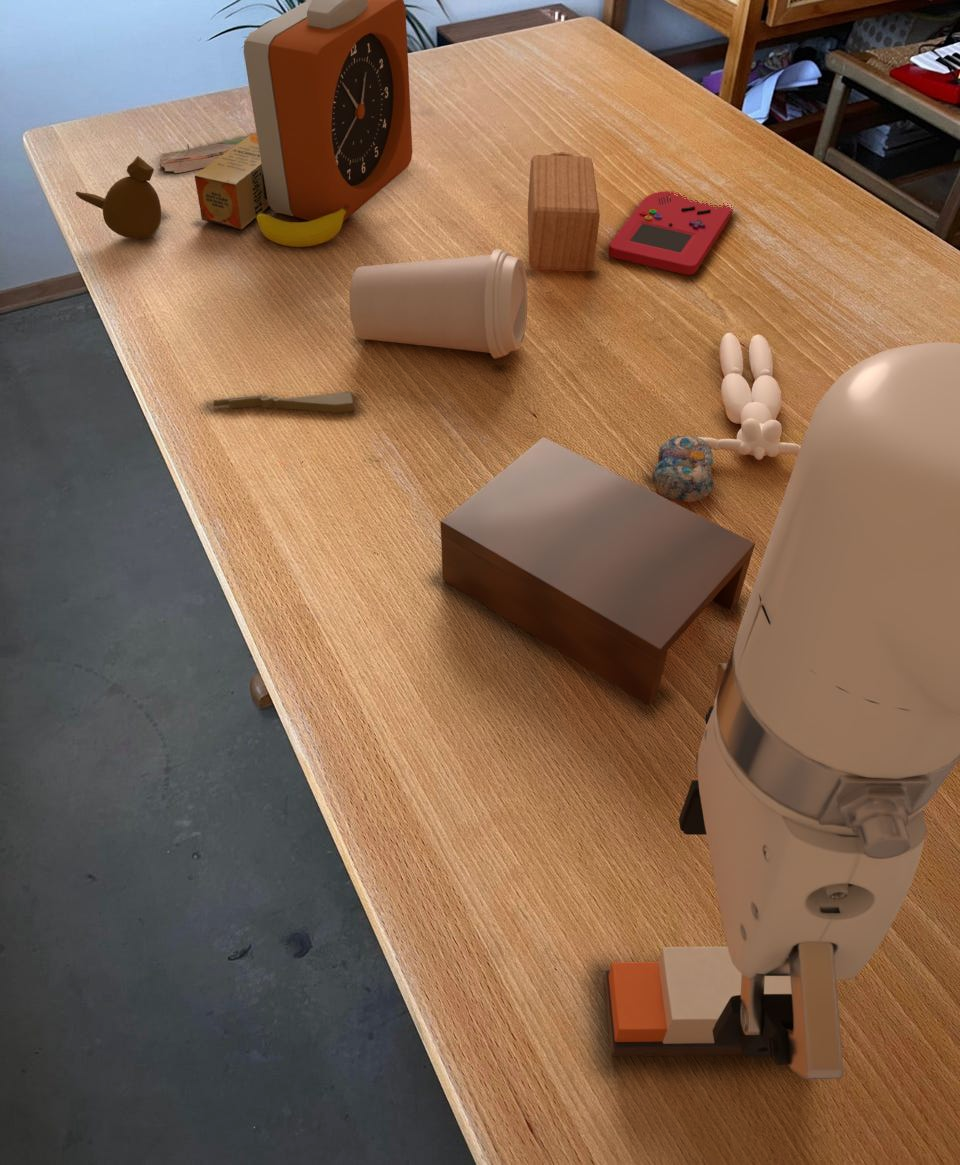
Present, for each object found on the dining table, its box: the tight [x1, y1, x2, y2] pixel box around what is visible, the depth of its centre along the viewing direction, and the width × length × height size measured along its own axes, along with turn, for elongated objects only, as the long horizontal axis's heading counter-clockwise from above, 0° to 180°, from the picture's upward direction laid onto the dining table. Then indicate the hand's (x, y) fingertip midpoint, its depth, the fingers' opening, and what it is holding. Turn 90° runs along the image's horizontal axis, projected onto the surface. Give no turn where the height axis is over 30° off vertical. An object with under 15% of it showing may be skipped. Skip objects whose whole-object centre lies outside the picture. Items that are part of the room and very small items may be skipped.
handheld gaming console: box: [608, 190, 734, 276], centre depth 108 cm, size 10×1×15 cm
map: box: [159, 136, 247, 174], centre depth 122 cm, size 5×20×1 cm, turn 121°
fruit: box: [255, 204, 350, 248], centre depth 106 cm, size 10×2×5 cm
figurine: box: [75, 155, 162, 240], centre depth 106 cm, size 8×8×6 cm
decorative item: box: [527, 151, 601, 272], centre depth 107 cm, size 7×7×20 cm
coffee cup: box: [348, 248, 528, 359], centre depth 92 cm, size 10×10×15 cm
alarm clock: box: [243, 0, 413, 224], centre depth 107 cm, size 18×9×21 cm, turn 154°
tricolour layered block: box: [603, 945, 792, 1057], centre depth 51 cm, size 10×4×5 cm, turn 91°
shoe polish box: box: [194, 133, 270, 230], centre depth 111 cm, size 5×5×12 cm
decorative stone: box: [651, 434, 715, 503], centre depth 80 cm, size 6×4×5 cm
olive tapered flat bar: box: [212, 391, 355, 414], centre depth 87 cm, size 12×2×1 cm, turn 91°
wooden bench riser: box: [439, 436, 756, 707], centre depth 71 cm, size 18×12×6 cm, turn 51°
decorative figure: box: [697, 332, 801, 461], centre depth 87 cm, size 4×12×18 cm
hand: (728, 925), depth 45 cm, fingers open, 9 cm apart
